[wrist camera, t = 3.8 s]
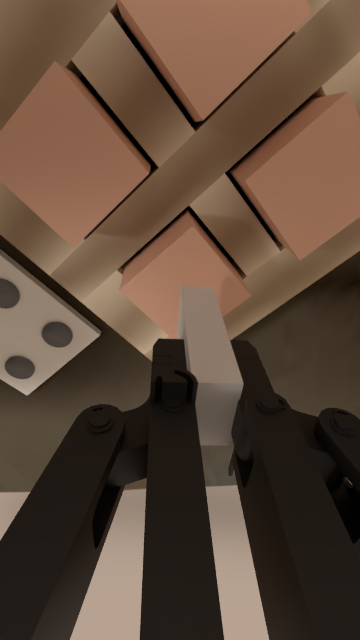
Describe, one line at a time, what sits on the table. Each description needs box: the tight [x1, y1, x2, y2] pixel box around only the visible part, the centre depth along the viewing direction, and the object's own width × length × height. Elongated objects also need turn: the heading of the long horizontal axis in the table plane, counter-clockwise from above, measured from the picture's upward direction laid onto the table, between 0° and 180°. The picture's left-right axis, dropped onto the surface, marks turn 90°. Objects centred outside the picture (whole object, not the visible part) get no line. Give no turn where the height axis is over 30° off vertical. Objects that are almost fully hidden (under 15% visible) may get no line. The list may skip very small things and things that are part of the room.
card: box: [0, 249, 101, 395], centre depth 23 cm, size 9×9×1 cm
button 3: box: [116, 0, 312, 122], centre depth 12 cm, size 5×5×4 cm
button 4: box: [230, 92, 360, 261], centre depth 16 cm, size 5×5×4 cm
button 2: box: [119, 210, 251, 339], centre depth 18 cm, size 5×5×4 cm
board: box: [0, 0, 360, 361], centre depth 17 cm, size 20×20×3 cm
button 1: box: [0, 61, 151, 248], centre depth 15 cm, size 5×5×4 cm
